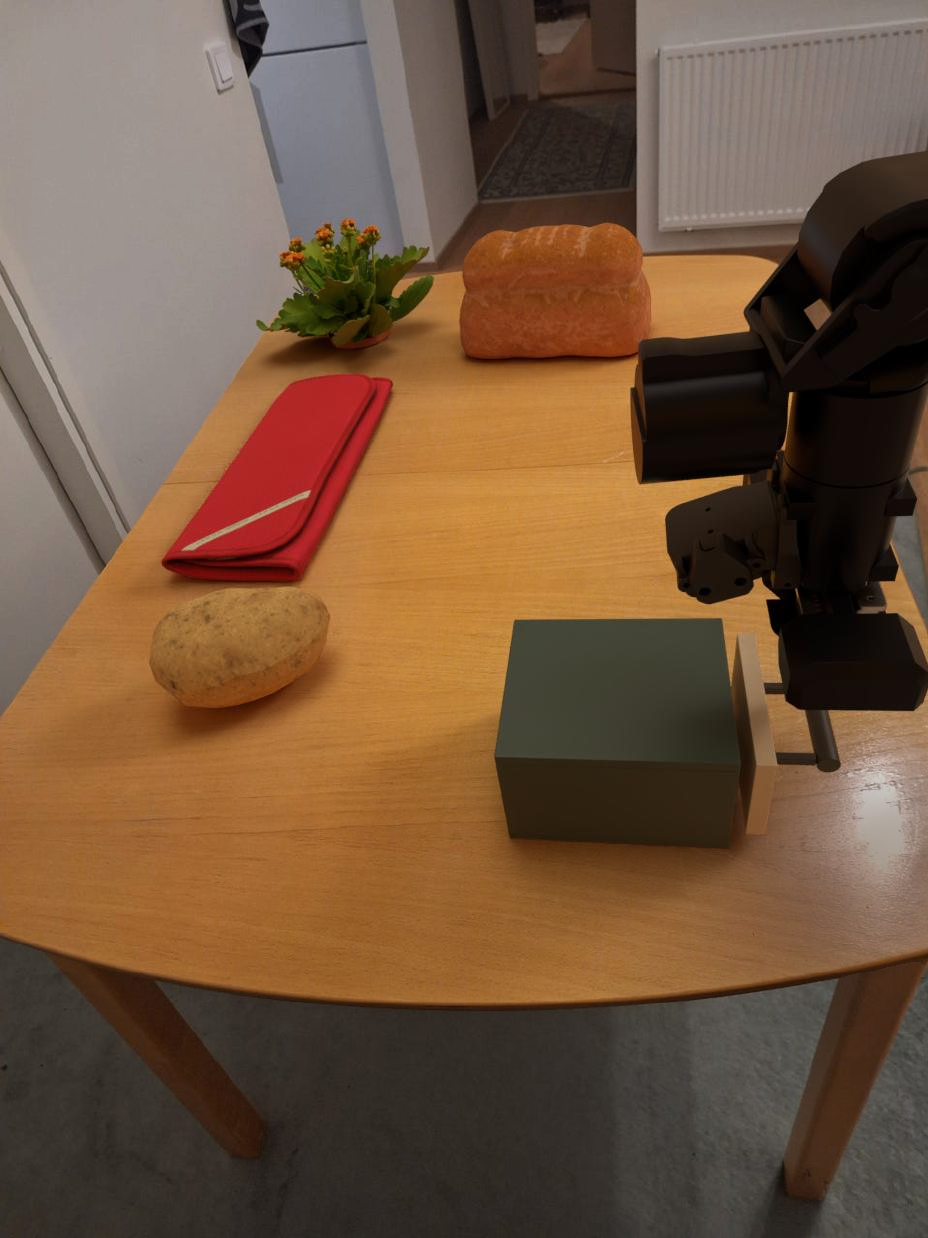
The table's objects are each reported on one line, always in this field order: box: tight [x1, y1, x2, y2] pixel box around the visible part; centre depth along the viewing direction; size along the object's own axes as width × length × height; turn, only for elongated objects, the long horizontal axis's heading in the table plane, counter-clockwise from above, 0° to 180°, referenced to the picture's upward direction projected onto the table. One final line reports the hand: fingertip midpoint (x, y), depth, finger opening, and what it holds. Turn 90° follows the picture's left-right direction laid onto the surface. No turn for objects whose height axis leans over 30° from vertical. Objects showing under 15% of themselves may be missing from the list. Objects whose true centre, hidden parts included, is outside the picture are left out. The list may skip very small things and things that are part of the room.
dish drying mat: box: [160, 373, 394, 583], centre depth 96 cm, size 16×41×4 cm, turn 171°
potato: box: [148, 586, 331, 709], centre depth 68 cm, size 10×14×10 cm
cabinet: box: [493, 617, 741, 850], centre depth 56 cm, size 15×13×9 cm
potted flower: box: [255, 218, 435, 350], centre depth 120 cm, size 25×24×18 cm
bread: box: [458, 222, 652, 360], centre depth 109 cm, size 14×26×15 cm, turn 75°
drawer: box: [730, 632, 842, 836], centre depth 55 cm, size 18×11×7 cm, turn 82°
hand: (803, 674), depth 50 cm, fingers closed
